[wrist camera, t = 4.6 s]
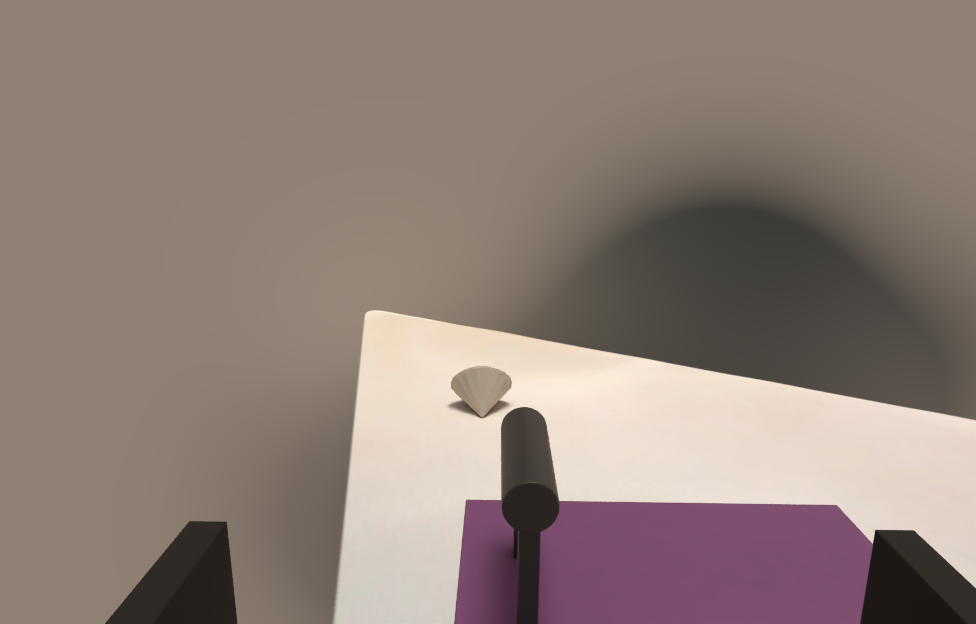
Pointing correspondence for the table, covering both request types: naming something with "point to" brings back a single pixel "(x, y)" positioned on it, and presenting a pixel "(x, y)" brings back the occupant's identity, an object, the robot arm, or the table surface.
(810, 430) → the table surface
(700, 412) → the table surface
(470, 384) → the gemstone
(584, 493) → the table surface
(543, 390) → the table surface
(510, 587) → the lid
